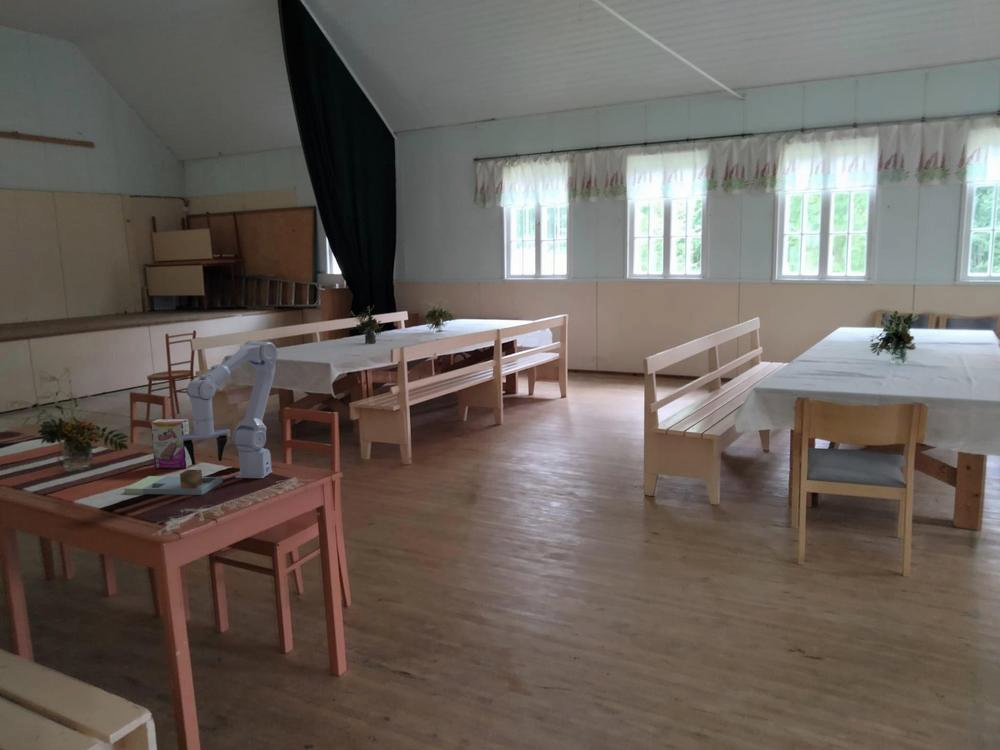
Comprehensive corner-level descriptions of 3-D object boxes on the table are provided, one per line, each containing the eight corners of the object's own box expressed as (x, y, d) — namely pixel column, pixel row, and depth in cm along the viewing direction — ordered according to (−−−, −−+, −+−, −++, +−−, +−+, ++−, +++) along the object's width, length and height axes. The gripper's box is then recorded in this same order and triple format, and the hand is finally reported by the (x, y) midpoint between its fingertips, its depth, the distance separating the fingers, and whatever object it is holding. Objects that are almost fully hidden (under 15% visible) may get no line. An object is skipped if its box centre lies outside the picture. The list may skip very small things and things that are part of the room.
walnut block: (202, 483, 229) (201, 469, 229) (195, 488, 225) (193, 474, 224) (188, 483, 230) (187, 469, 229) (181, 488, 226) (179, 473, 225)
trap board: (222, 482, 236) (222, 477, 236) (202, 494, 224) (201, 489, 223) (149, 480, 239) (148, 476, 239) (124, 493, 227) (124, 488, 226)
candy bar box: (154, 469, 253) (149, 422, 250) (161, 465, 258) (156, 419, 255) (186, 469, 253) (182, 421, 250) (193, 464, 258) (188, 418, 255)
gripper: (225, 413, 233) (229, 455, 235) (175, 419, 226) (179, 462, 228) (230, 417, 227) (233, 460, 229) (178, 423, 220) (182, 468, 222)
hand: (206, 462), depth 228 cm, fingers open, 7 cm apart
